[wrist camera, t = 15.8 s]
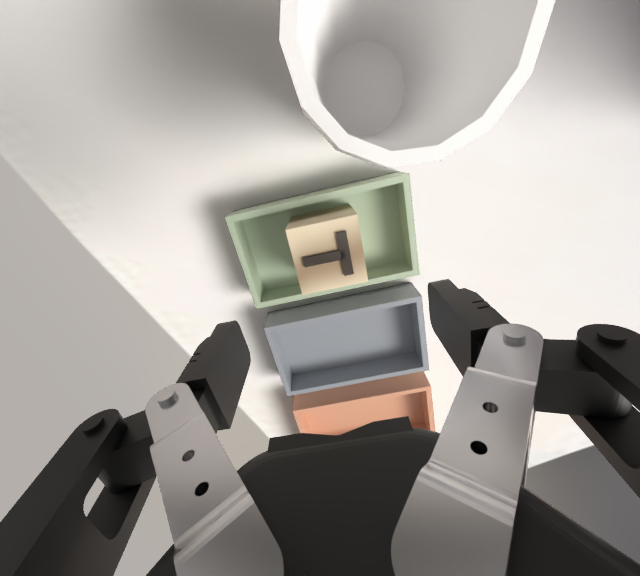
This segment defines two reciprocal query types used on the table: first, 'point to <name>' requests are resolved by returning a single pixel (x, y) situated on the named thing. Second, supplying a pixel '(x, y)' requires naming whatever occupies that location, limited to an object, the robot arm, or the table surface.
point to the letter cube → (327, 249)
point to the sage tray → (364, 196)
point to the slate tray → (349, 339)
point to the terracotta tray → (365, 405)
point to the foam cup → (409, 70)
